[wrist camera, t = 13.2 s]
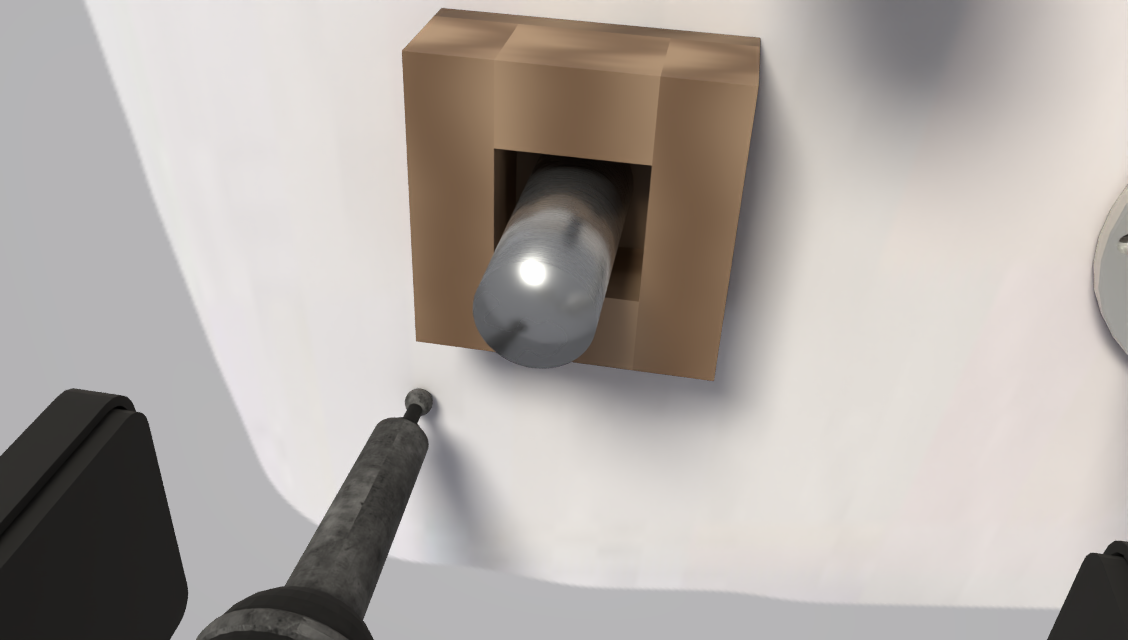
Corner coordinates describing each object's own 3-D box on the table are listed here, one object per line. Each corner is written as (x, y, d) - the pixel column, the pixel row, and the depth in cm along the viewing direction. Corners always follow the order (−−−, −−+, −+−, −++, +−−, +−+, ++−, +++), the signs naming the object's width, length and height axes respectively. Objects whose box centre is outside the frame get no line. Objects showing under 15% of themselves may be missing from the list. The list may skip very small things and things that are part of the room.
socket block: (760, 37, 37) (758, 86, 33) (719, 312, 44) (713, 381, 40) (441, 8, 39) (401, 50, 35) (448, 278, 45) (416, 341, 41)
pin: (637, 139, 39) (600, 269, 31) (629, 231, 41) (593, 375, 33) (534, 129, 40) (471, 254, 31) (533, 220, 42) (473, 360, 34)
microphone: (491, 344, 47) (338, 719, 31) (492, 457, 51) (357, 845, 34) (348, 326, 48) (124, 682, 31) (359, 439, 52) (165, 809, 35)
